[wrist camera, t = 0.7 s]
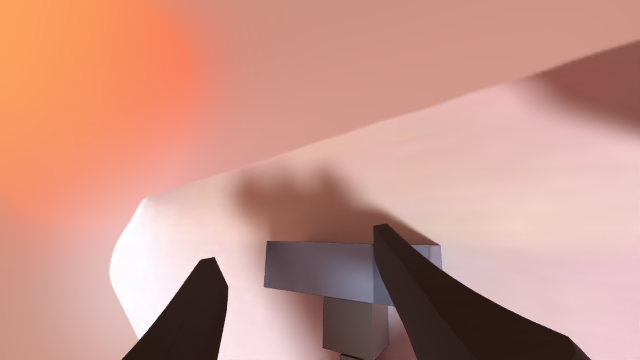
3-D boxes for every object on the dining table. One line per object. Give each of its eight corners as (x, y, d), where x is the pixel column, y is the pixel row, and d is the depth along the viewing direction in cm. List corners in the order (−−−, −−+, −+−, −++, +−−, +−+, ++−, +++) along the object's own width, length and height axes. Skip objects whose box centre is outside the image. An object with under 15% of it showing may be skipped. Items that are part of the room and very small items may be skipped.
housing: (444, 295, 22) (432, 311, 16) (304, 279, 29) (263, 287, 23) (440, 245, 23) (427, 245, 17) (305, 241, 30) (266, 241, 24)
